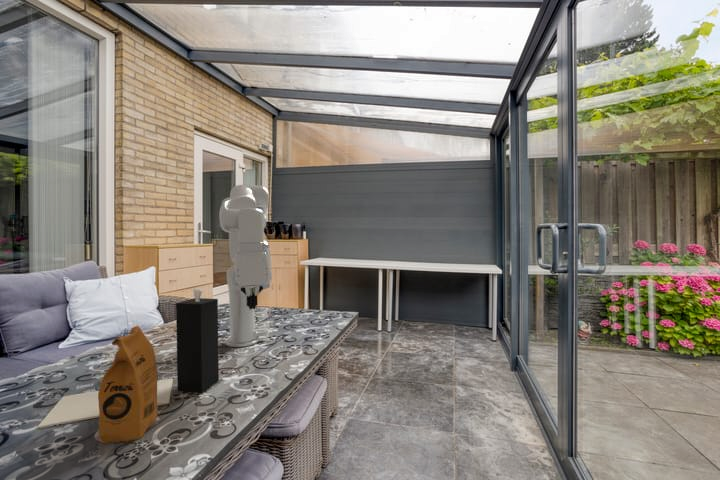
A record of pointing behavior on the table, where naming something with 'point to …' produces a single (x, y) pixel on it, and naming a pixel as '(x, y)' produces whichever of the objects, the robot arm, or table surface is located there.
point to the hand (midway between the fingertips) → (252, 308)
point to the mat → (92, 406)
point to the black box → (197, 343)
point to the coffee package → (128, 390)
